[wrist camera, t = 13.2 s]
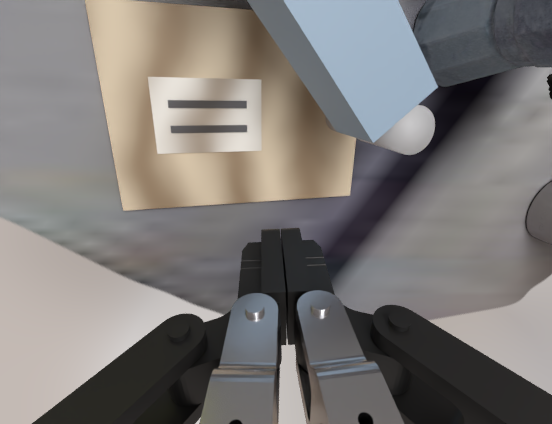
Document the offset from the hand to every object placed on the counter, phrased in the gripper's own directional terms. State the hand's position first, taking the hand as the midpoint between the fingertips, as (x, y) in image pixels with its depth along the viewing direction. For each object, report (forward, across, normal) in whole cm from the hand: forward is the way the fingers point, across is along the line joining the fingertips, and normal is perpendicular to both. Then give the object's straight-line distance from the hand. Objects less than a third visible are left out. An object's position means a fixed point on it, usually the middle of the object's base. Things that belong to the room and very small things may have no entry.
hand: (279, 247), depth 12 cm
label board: (+18, +2, -2) cm, 19 cm away
